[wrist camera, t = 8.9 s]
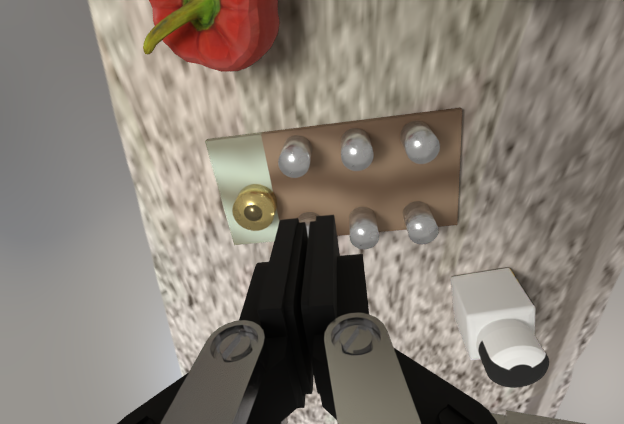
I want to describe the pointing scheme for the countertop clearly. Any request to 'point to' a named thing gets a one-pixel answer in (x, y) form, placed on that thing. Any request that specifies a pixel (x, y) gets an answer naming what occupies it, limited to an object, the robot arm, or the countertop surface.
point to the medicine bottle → (499, 326)
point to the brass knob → (255, 207)
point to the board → (343, 173)
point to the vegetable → (215, 30)
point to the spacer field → (358, 157)
